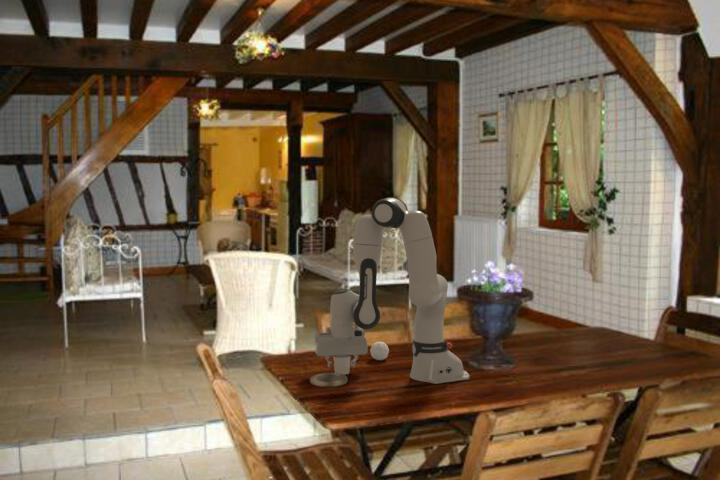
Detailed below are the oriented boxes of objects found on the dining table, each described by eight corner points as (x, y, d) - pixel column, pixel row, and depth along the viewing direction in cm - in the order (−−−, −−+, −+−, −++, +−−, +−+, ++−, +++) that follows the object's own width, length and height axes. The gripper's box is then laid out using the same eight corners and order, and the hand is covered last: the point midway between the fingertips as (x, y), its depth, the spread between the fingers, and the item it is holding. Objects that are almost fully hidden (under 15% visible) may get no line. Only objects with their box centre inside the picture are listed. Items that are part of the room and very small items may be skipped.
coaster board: (343, 375, 276) (343, 371, 276) (350, 385, 262) (350, 382, 262) (307, 377, 273) (307, 374, 273) (313, 388, 260) (313, 384, 259)
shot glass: (348, 375, 275) (348, 358, 274) (331, 375, 276) (331, 357, 276) (352, 371, 282) (352, 353, 281) (335, 370, 283) (335, 352, 282)
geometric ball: (376, 367, 297) (365, 353, 295) (378, 356, 304) (368, 342, 302) (391, 359, 294) (380, 345, 292) (393, 348, 301) (382, 334, 299)
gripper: (316, 334, 273) (316, 369, 274) (368, 331, 277) (368, 366, 278) (313, 330, 279) (314, 365, 280) (365, 328, 283) (365, 362, 284)
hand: (341, 366), depth 279 cm, fingers open, 8 cm apart
